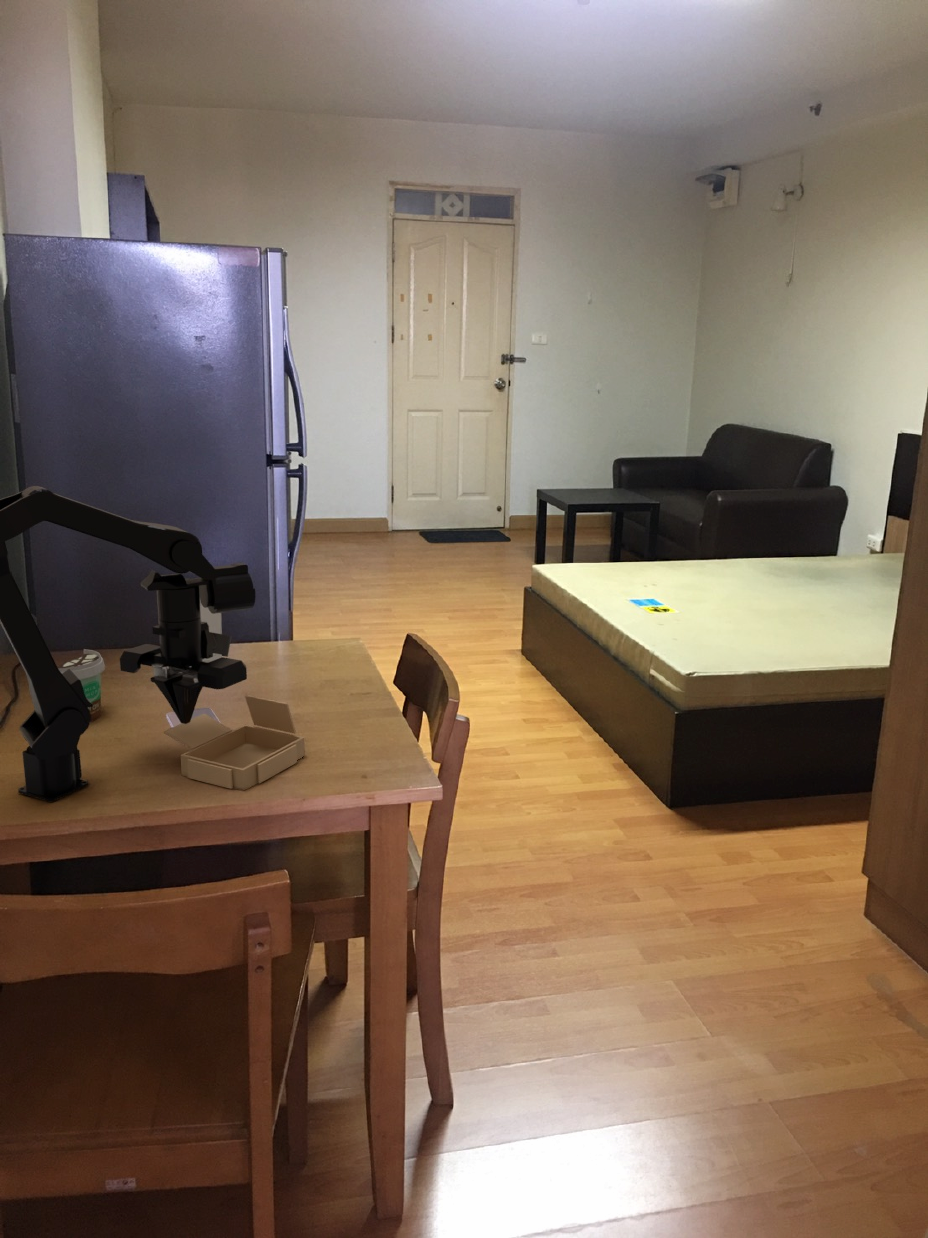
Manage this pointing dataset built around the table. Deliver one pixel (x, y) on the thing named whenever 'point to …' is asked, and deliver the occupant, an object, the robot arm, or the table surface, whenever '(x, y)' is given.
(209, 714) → the mobile phone
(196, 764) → the carton
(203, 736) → the left flap
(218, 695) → the table surface
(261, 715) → the front flap
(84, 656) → the food container
